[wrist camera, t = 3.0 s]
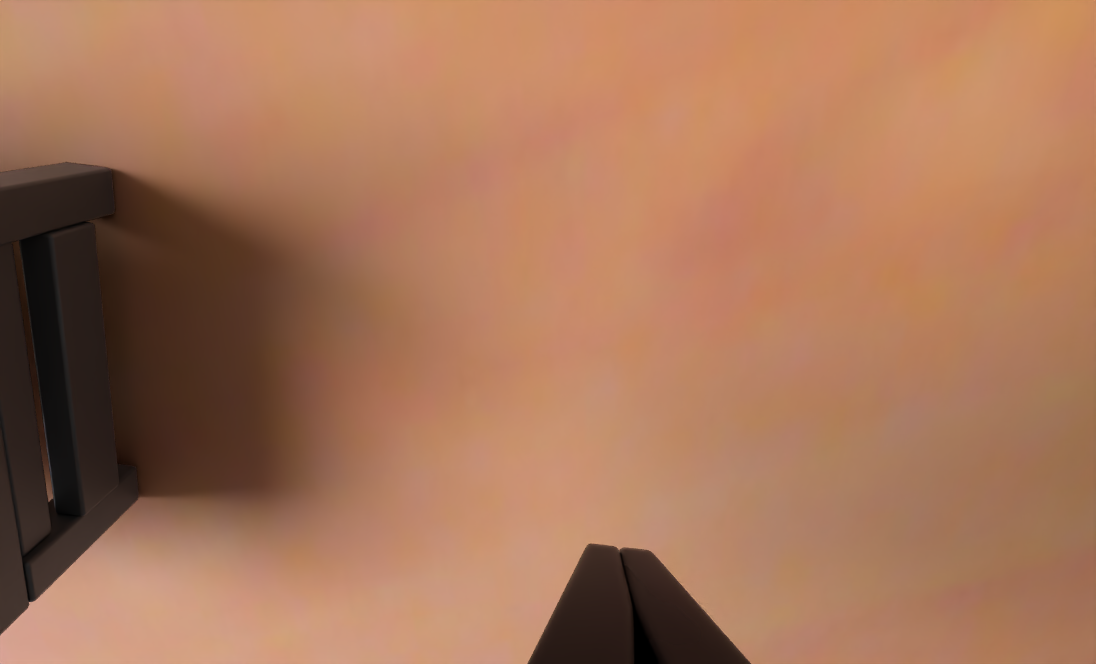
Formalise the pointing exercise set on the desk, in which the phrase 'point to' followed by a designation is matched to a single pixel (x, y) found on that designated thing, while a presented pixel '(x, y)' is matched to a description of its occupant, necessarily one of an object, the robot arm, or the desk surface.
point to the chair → (54, 381)
